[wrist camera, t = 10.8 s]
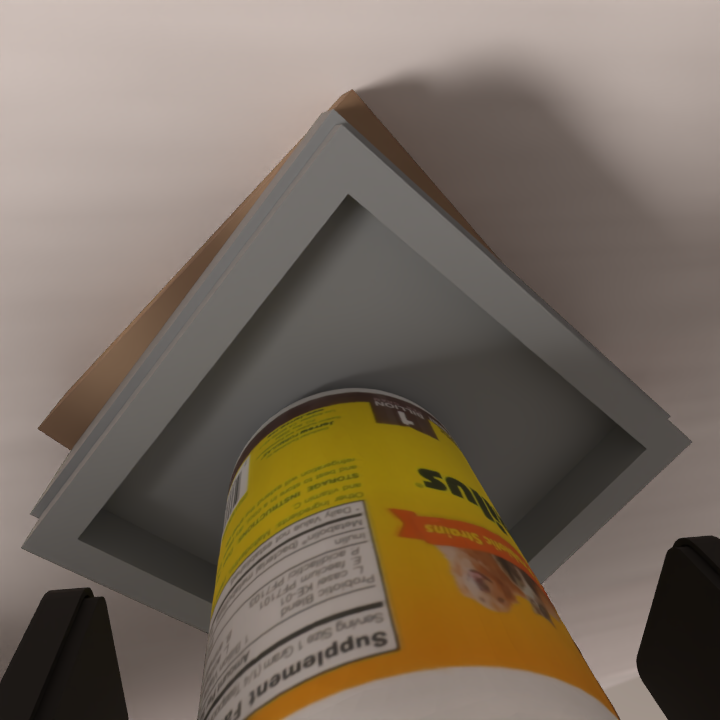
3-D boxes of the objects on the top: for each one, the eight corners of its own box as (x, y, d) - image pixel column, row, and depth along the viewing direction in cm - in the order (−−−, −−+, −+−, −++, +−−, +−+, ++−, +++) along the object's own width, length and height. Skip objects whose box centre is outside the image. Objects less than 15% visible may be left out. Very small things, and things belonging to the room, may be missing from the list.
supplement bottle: (491, 508, 14) (886, 1201, 5) (302, 603, 15) (351, 1419, 5) (399, 331, 12) (805, 985, 3) (180, 448, 13) (-91, 1375, 3)
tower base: (338, 568, 22) (347, 630, 19) (73, 382, 18) (37, 428, 15) (573, 362, 20) (620, 399, 17) (339, 96, 16) (352, 89, 13)
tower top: (373, 607, 19) (397, 726, 15) (73, 446, 15) (6, 549, 12) (606, 369, 17) (703, 440, 13) (321, 113, 13) (339, 106, 9)
